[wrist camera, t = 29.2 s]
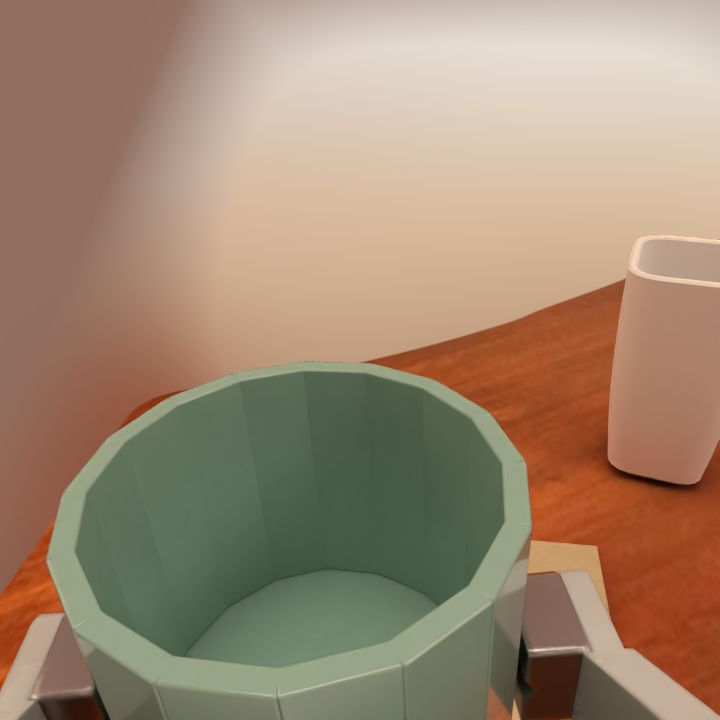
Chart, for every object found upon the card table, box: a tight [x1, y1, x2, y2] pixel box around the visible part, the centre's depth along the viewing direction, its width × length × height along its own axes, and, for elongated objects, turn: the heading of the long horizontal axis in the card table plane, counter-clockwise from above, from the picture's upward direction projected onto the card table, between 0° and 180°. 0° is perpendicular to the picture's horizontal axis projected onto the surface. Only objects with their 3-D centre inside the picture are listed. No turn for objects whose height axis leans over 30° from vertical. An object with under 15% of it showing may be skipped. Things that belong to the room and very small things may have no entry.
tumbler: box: [46, 361, 532, 720], centre depth 11 cm, size 6×6×9 cm
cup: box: [608, 235, 720, 485], centre depth 41 cm, size 7×7×15 cm
